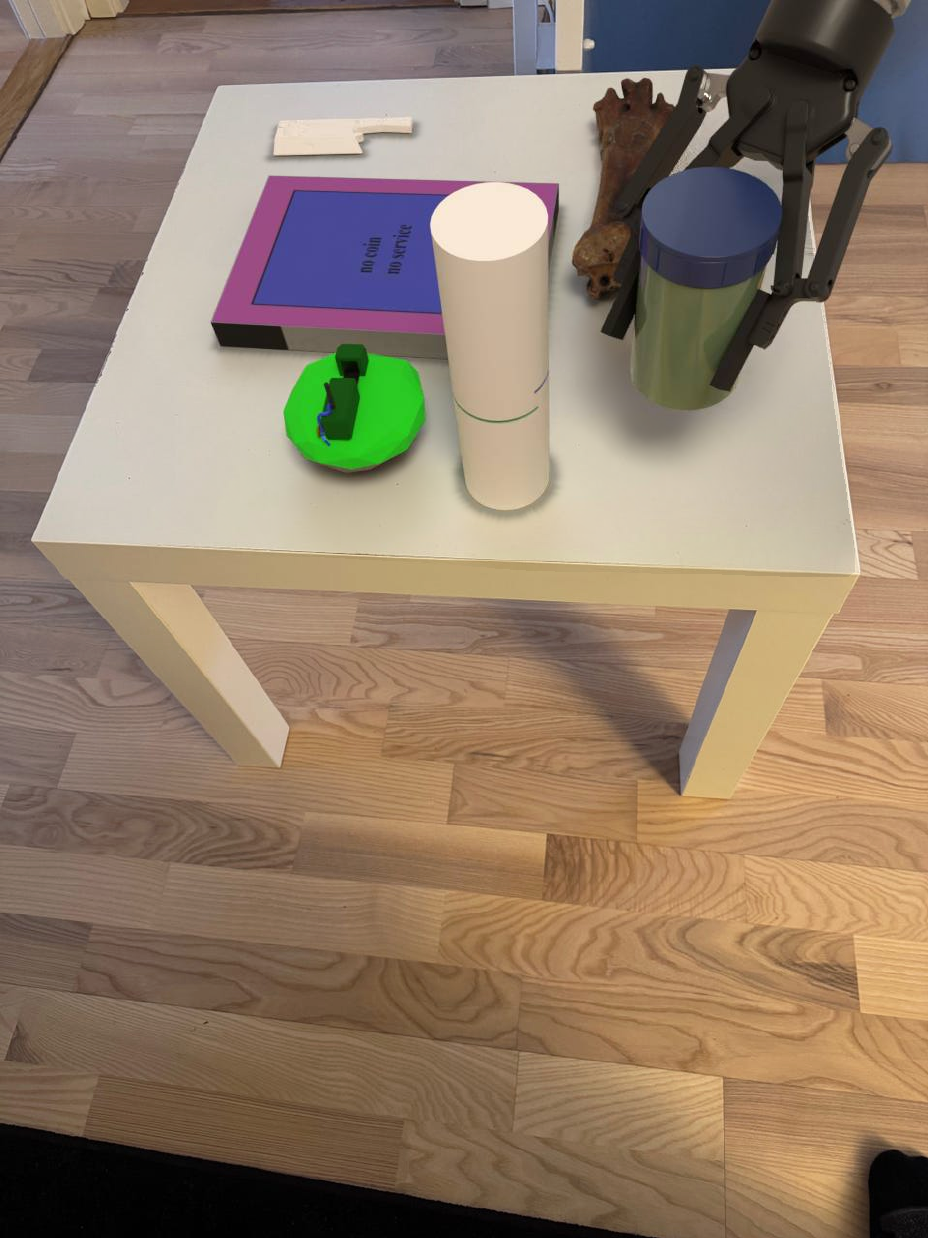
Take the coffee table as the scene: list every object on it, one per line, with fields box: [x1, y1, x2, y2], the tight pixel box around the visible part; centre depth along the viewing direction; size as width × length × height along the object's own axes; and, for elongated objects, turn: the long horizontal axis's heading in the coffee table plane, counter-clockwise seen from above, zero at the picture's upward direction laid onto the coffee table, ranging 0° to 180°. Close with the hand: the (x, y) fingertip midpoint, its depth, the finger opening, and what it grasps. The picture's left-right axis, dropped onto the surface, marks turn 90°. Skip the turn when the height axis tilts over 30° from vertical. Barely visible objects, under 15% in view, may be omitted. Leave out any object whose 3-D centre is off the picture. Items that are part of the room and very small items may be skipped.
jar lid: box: [639, 167, 782, 288], centre depth 57 cm, size 8×8×2 cm
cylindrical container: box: [430, 181, 550, 511], centre depth 66 cm, size 7×7×25 cm
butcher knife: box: [273, 116, 414, 156], centre depth 101 cm, size 5×15×1 cm, turn 84°
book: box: [210, 175, 560, 360], centre depth 89 cm, size 21×3×30 cm
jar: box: [629, 254, 768, 411], centre depth 62 cm, size 8×8×13 cm
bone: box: [571, 77, 676, 300], centre depth 89 cm, size 9×8×30 cm
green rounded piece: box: [282, 344, 426, 474], centre depth 76 cm, size 12×12×11 cm
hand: (664, 361), depth 64 cm, fingers closed on jar, 8 cm apart
